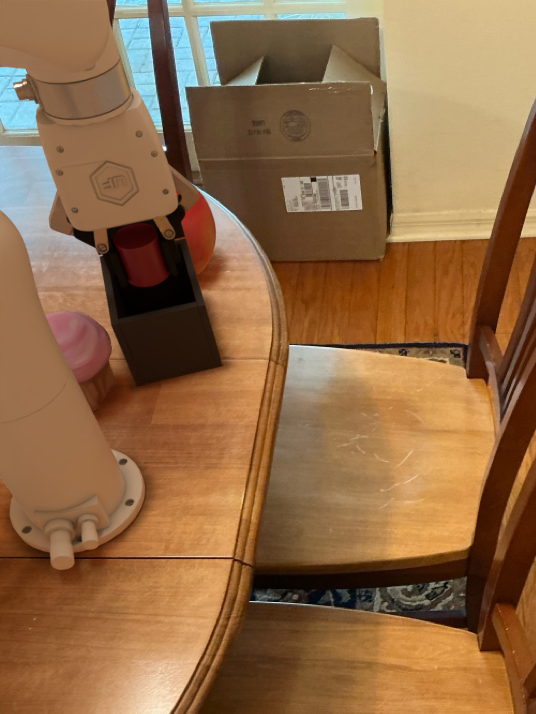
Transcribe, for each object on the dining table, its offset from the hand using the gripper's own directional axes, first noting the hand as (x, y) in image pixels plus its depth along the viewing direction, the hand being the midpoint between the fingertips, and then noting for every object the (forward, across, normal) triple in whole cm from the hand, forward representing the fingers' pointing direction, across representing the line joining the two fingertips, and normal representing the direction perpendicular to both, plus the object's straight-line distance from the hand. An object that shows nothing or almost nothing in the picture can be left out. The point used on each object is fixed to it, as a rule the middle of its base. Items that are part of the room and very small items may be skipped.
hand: (147, 271), depth 79 cm
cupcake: (+11, -10, -4) cm, 15 cm away
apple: (+11, +4, +15) cm, 19 cm away
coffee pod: (0, 0, 0) cm, 0 cm away
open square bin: (+10, 0, +2) cm, 11 cm away
